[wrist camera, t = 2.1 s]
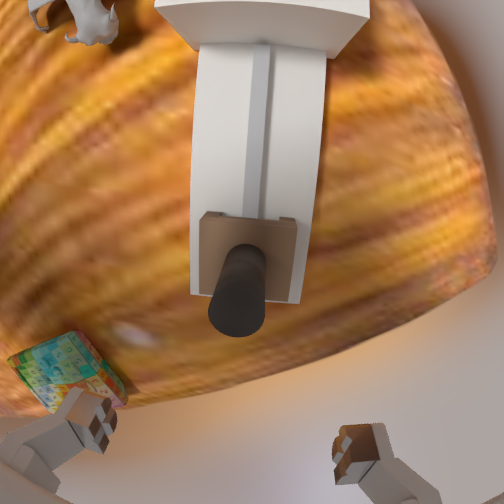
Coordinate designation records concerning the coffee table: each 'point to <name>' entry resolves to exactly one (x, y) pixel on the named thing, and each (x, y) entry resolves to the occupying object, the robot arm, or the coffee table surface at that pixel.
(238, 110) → the rail base
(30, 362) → the puzzle game
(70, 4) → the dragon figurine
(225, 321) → the carriage
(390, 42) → the coffee table surface
